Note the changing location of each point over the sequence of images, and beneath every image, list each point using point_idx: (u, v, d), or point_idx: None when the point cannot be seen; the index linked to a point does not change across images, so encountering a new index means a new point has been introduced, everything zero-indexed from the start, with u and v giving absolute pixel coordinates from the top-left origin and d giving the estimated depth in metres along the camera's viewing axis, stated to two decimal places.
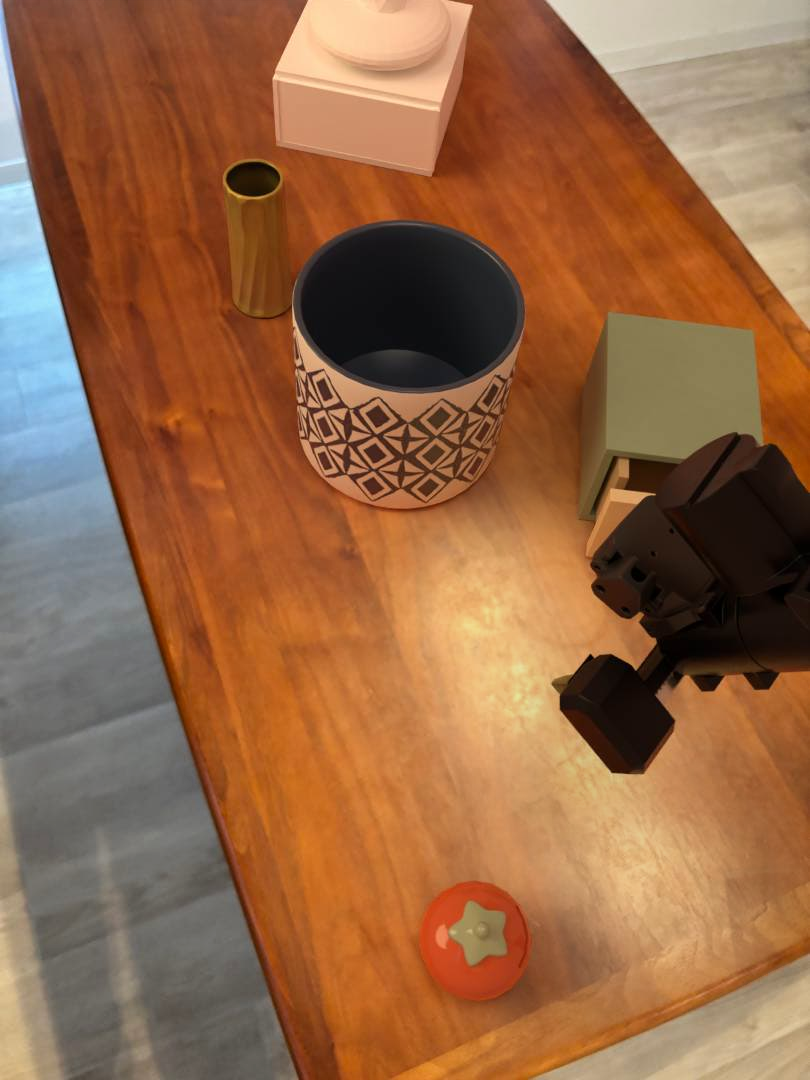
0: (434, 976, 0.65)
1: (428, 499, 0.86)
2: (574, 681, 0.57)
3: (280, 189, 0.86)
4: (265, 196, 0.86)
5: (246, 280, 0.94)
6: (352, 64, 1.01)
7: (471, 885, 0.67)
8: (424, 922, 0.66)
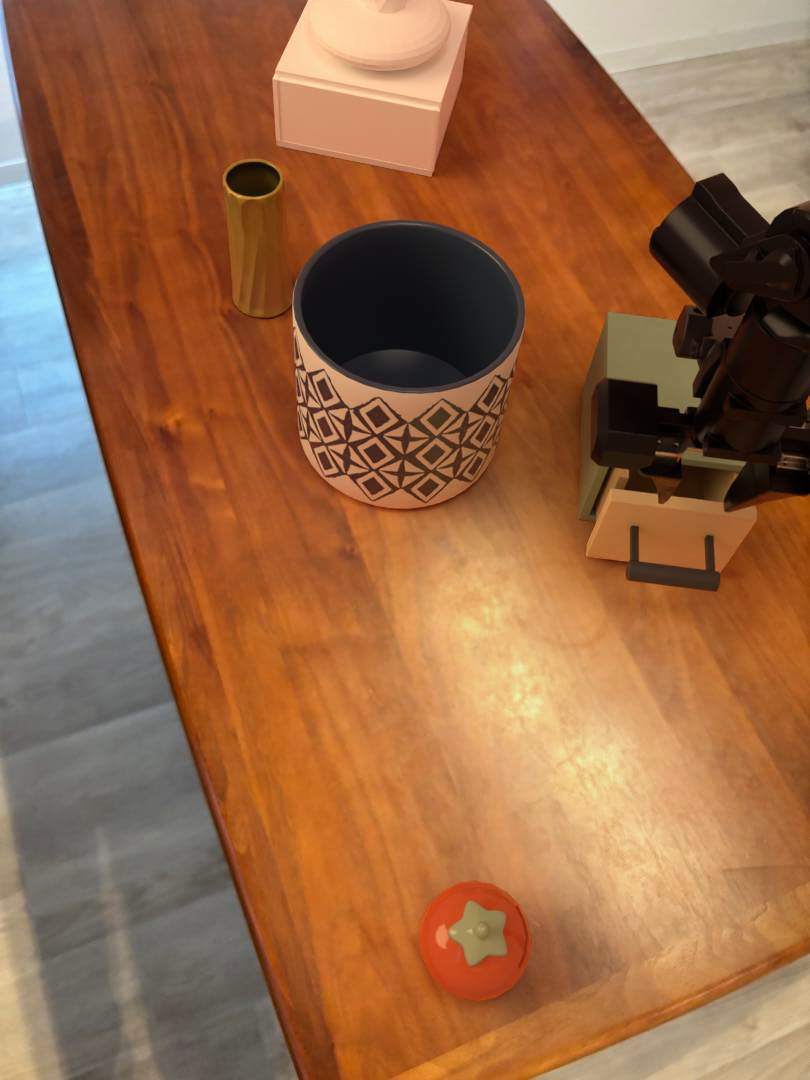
0: (434, 976, 0.65)
1: (428, 499, 0.86)
2: None
3: (280, 189, 0.86)
4: (265, 196, 0.86)
5: (246, 280, 0.94)
6: (352, 64, 1.01)
7: (471, 885, 0.67)
8: (424, 922, 0.66)
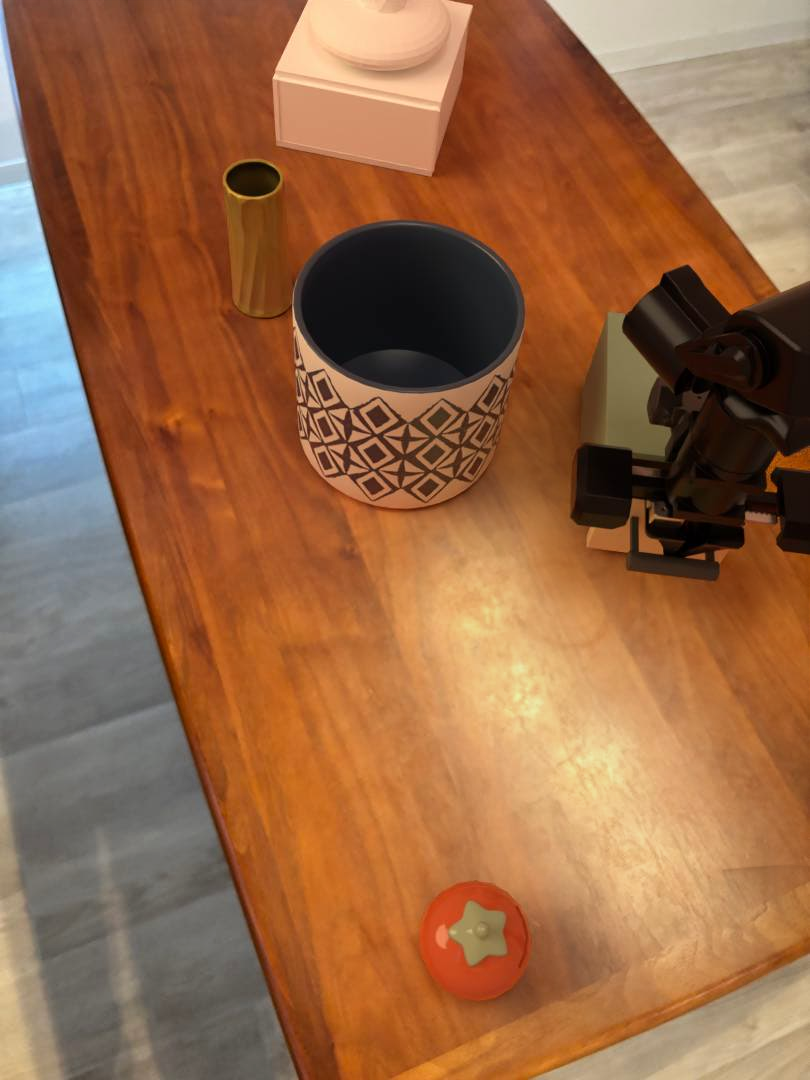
0: (434, 976, 0.65)
1: (428, 499, 0.86)
2: None
3: (280, 189, 0.86)
4: (265, 196, 0.86)
5: (246, 280, 0.94)
6: (352, 64, 1.01)
7: (471, 885, 0.67)
8: (424, 922, 0.66)
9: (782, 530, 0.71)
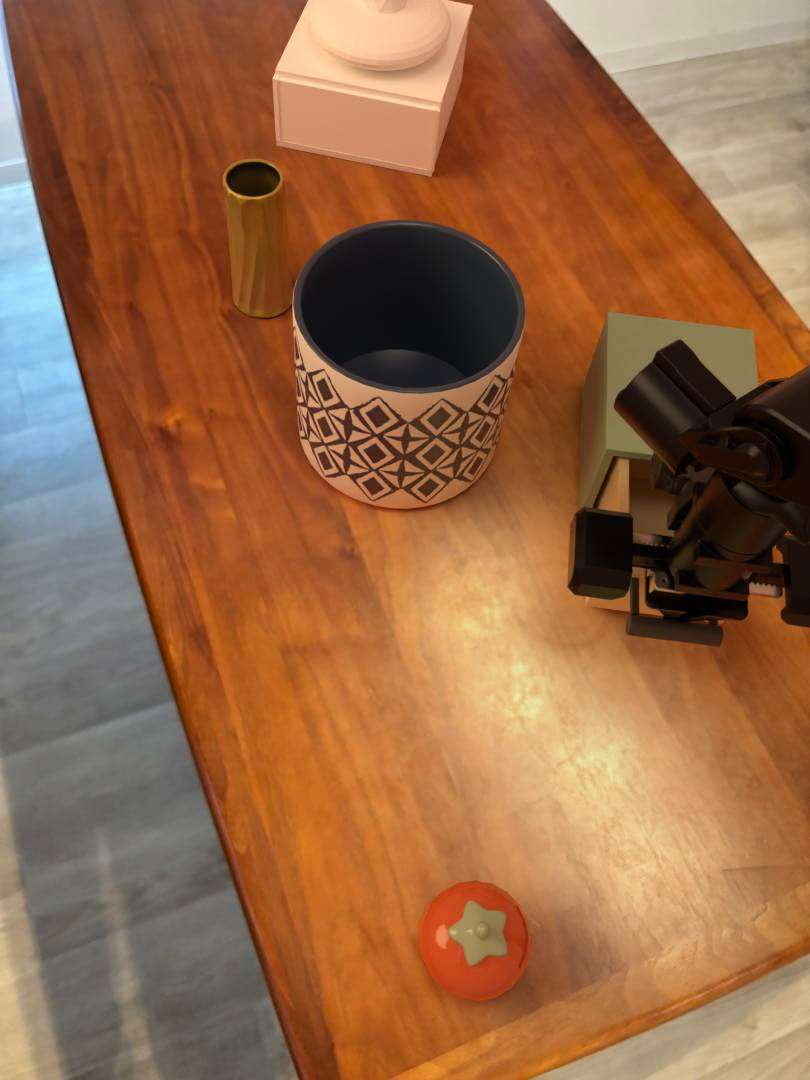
0: (434, 976, 0.65)
1: (428, 499, 0.86)
2: None
3: (280, 189, 0.86)
4: (265, 196, 0.86)
5: (246, 280, 0.94)
6: (352, 64, 1.01)
7: (471, 885, 0.67)
8: (424, 922, 0.66)
9: (787, 605, 0.69)
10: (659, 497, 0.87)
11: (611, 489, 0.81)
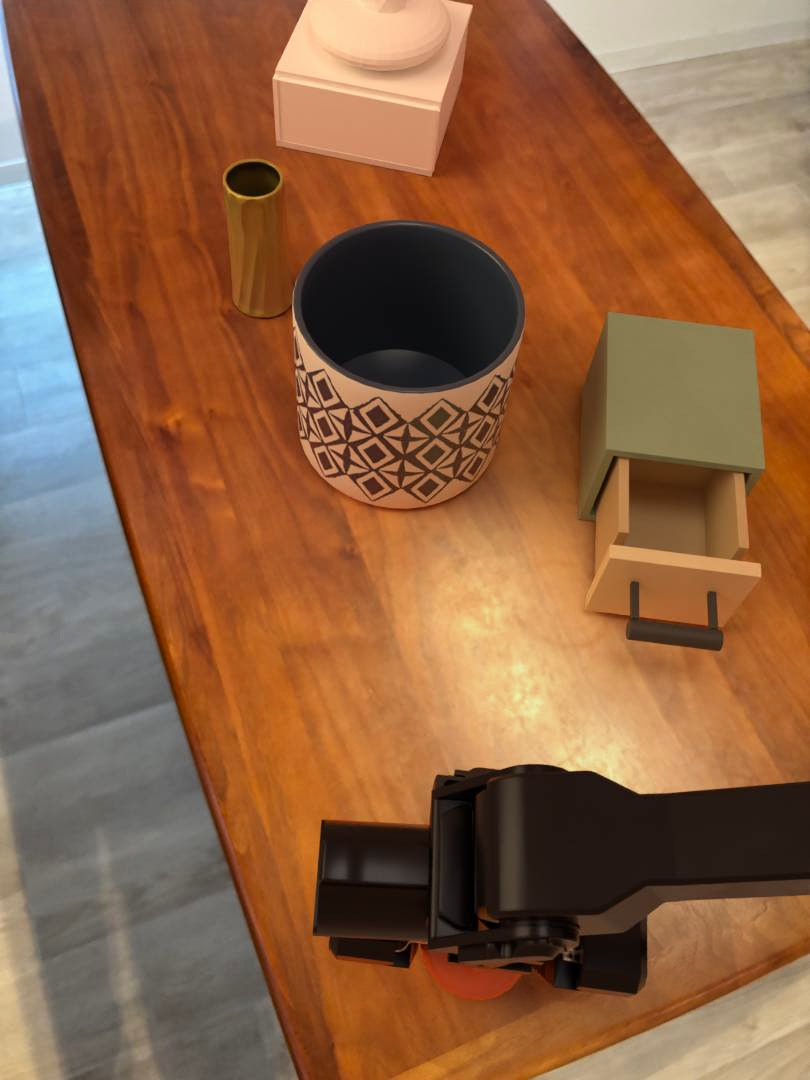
0: (434, 976, 0.65)
1: (428, 499, 0.86)
2: None
3: (280, 189, 0.86)
4: (265, 196, 0.86)
5: (246, 280, 0.94)
6: (352, 64, 1.01)
7: None
8: None
9: (580, 977, 0.58)
10: (659, 500, 0.87)
11: (611, 493, 0.81)
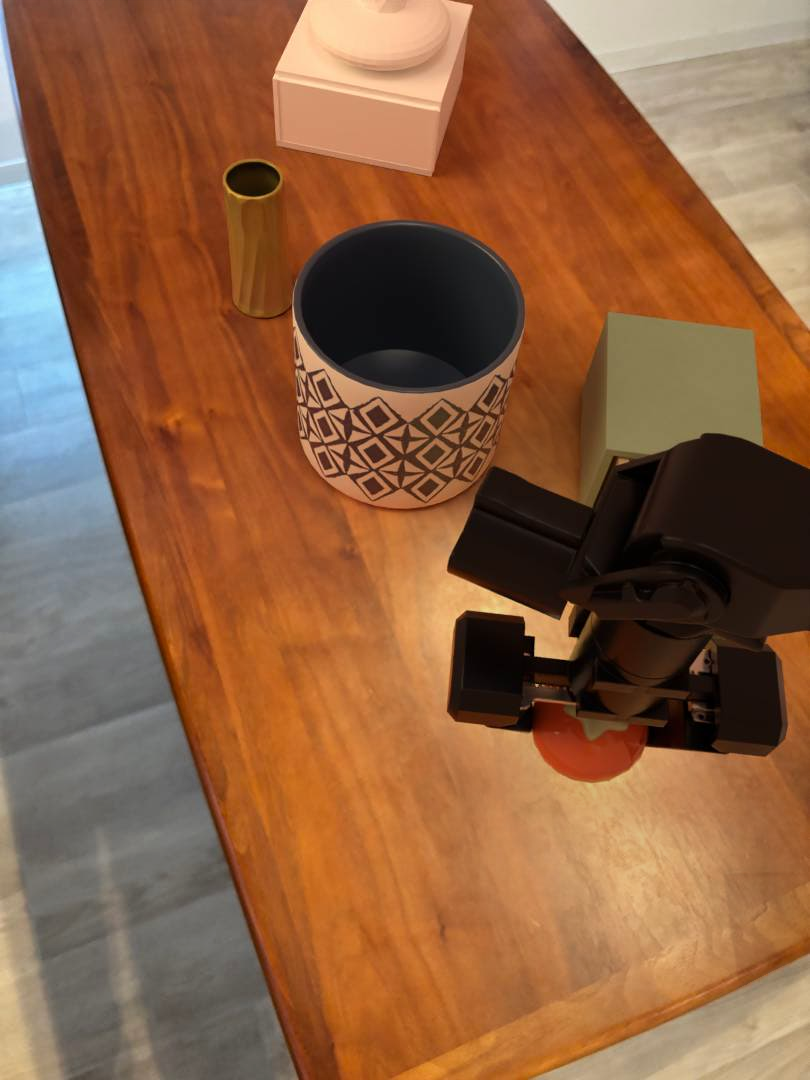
0: (550, 756, 0.61)
1: (428, 499, 0.86)
2: None
3: (280, 189, 0.86)
4: (265, 196, 0.86)
5: (246, 280, 0.94)
6: (352, 64, 1.01)
7: None
8: (536, 703, 0.63)
9: (717, 730, 0.55)
10: None
11: None
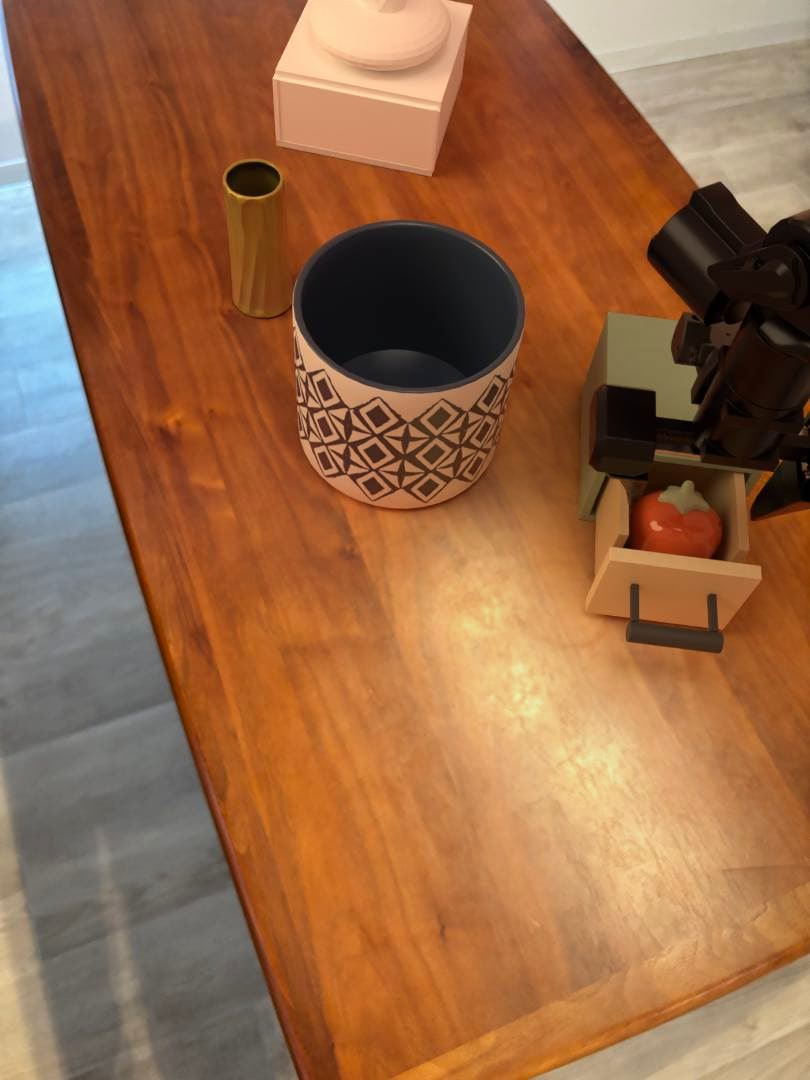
0: (651, 534, 0.78)
1: (428, 499, 0.86)
2: None
3: (280, 189, 0.86)
4: (265, 196, 0.86)
5: (246, 280, 0.94)
6: (352, 64, 1.01)
7: None
8: (633, 509, 0.80)
9: None
10: None
11: (611, 495, 0.81)
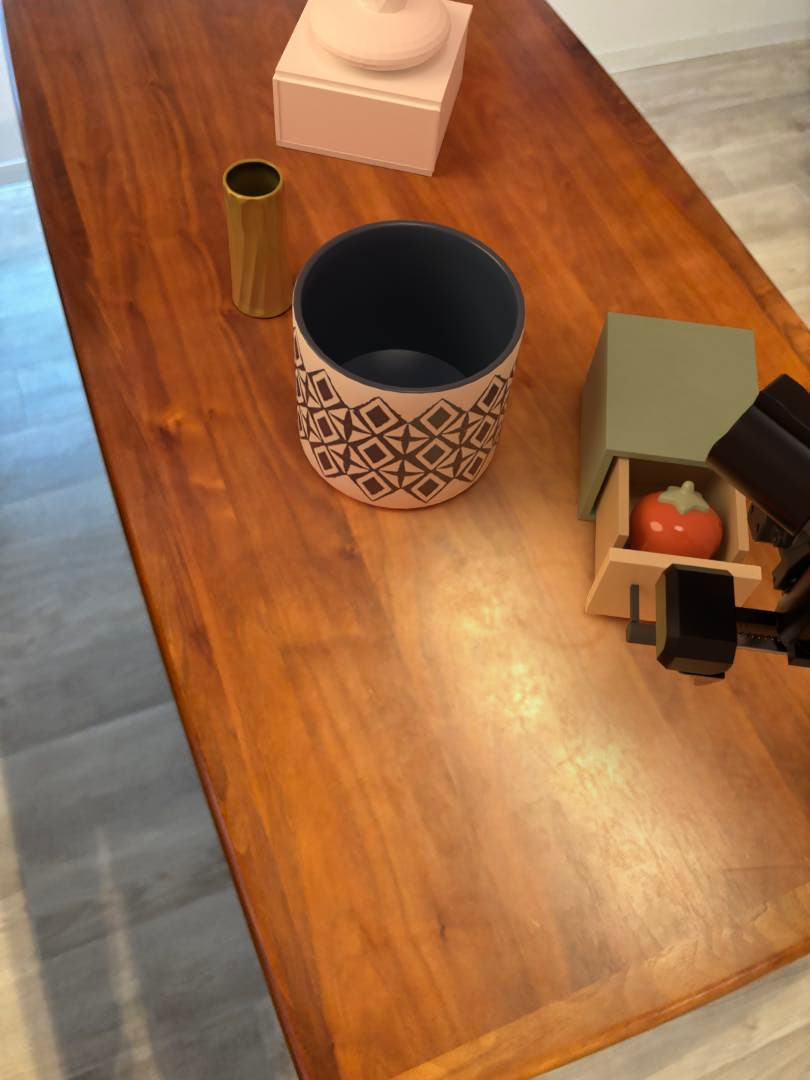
0: (651, 535, 0.78)
1: (428, 499, 0.86)
2: None
3: (280, 189, 0.86)
4: (265, 196, 0.86)
5: (246, 280, 0.94)
6: (352, 64, 1.01)
7: None
8: (633, 509, 0.80)
9: None
10: None
11: (611, 495, 0.81)
